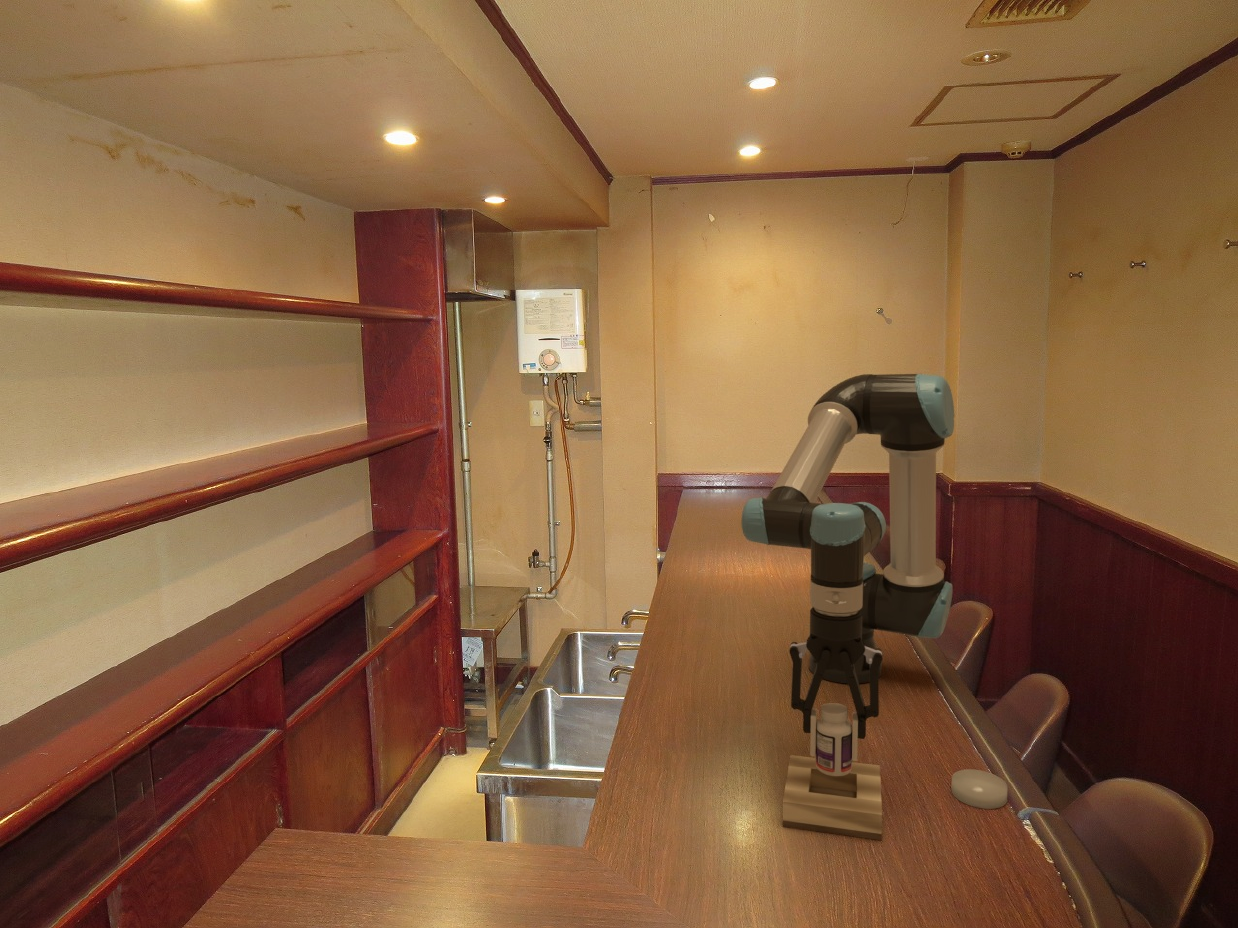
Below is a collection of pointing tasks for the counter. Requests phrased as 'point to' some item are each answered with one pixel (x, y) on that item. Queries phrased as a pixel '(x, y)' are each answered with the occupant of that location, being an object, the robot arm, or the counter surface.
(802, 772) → the socket block
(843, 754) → the pill bottle
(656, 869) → the counter surface
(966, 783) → the beige oval dome
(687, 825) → the counter surface
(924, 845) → the counter surface
